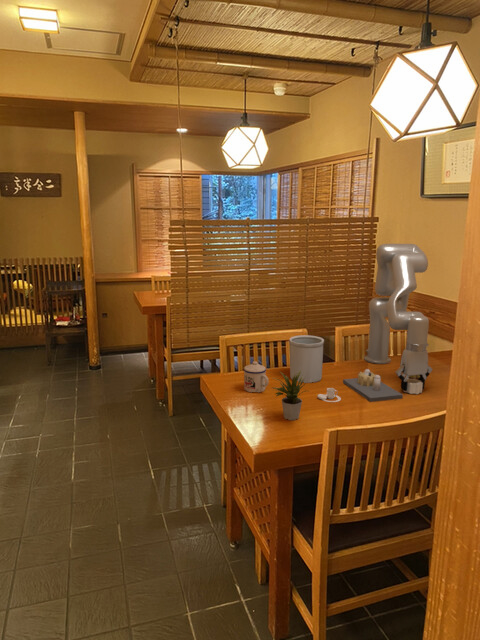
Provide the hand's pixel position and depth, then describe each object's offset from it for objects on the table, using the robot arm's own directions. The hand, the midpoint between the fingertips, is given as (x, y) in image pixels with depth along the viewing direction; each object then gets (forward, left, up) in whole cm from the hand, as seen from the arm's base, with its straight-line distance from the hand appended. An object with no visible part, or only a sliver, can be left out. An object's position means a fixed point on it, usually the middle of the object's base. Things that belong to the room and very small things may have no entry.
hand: (412, 388), depth 184 cm
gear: (0, 0, -1) cm, 1 cm away
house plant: (+9, -56, -2) cm, 57 cm away
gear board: (-6, -15, -1) cm, 16 cm away
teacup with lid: (-18, -60, -2) cm, 63 cm away
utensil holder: (-27, -35, -2) cm, 44 cm away
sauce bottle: (-13, +10, -2) cm, 16 cm away
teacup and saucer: (-5, -36, -2) cm, 36 cm away
